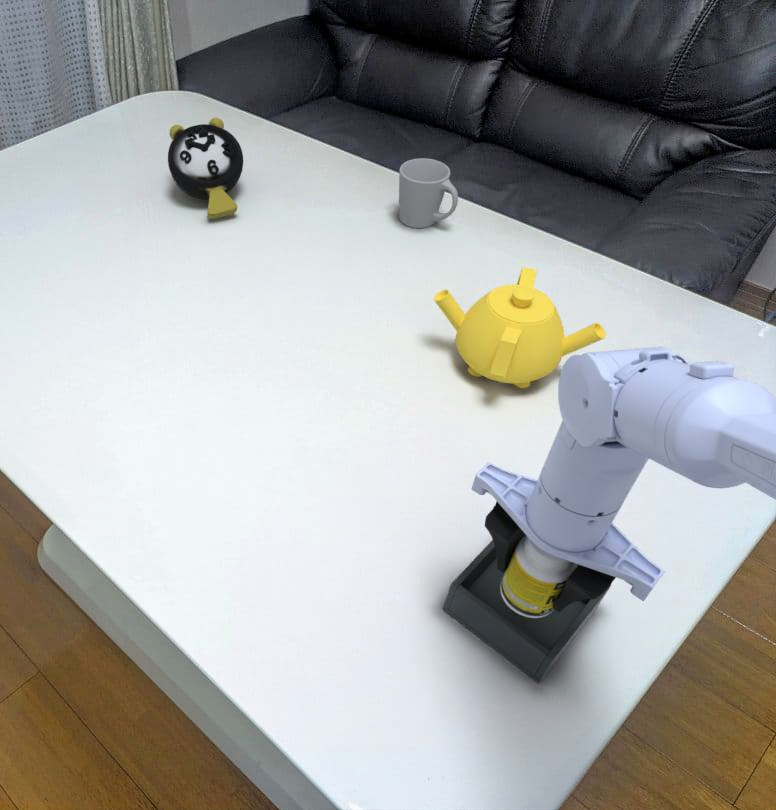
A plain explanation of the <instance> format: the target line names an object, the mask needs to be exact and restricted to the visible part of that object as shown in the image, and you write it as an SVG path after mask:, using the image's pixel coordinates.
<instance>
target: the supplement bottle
mask: <svg viewBox="0 0 776 810" xmlns="http://www.w3.org/2000/svg"><path fill="white" fill-rule="evenodd" d="M576 566H577V564H576V563H573V562H570V561H567V560H565V559H562V558H559V557H556V556H553V555H551V554H549V553H547V552H545V551H543V550H542V549H540V548H539V547H538V546H536V545H535V544H534V543H533V542H532V541H531V540H530V539H529V538H528V536H527V535H526V536H524V537H523V538H522V539H521V540H520V541H519V543H518V545H517V547H516V549H515V552H514V554H513V556H512V558H511V561H510V563H509V565H508V568H507V570H506V572H505V574H504V577H503V579H502V581H501V586H500V590H501V595H502V598H503V600H504V601H505V603H506V604H507V605H508V607H509V608H511V609H512V610H513V611H515V612H516V613H518V614H520V615H522V616H525V617H529V618H541V617H544V616H547V615H548V614H550V613H551V612H552V611H553V610H554V608H552V607H553V605H554V603H555V602H556V600H557V599H558V598H559V597H560V595H561V594H562V593H563V590H564V588H565V586H566V582H567V579H568V577H569V576H570V575H571V574H572V572H573V571H574V570H575V569H576Z"/></svg>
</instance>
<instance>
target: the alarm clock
mask: <svg viewBox="0 0 776 810" xmlns="http://www.w3.org/2000/svg"><path fill="white" fill-rule="evenodd" d="M224 128H225V124H224V121H223V120H222V119H221V118H219V117H212V118H211V119H210V120H209V122H208V124H206V123H205V124H204V123H202V124H195V125H191V126H188V127H187V128H184V127H183V126H182V125H181V124H174V125H172V126H171V127H170V128H169V136H170V139H171V142H170V144H169V147H168V152H167V164H168V170H169V172H170V174H171V177H172V179H173V181H174V182H175V184H176V186H177V187H178V188H179V189H180V190H181V191H182V192H183V193H185V194H186V195H188V196H189V197H192V198H194V199H198V200H204V201H208V206H207V219H210V220H215V219H219V218H223V217H227V216H232V215H234V214H235V213H236V212H237V210H238V204H237V203H236V201H235V200H234V199H232V198H231V196H230V195H229V194H228V193H230V192H231V191H232V190H233V189H234V188H235V187H236V185H237V184H238V182H239V180H240V178H241V176H242V172H243V169H244V155H243V149H242V147H241V145H240V142H239V141H238V140H237V138H236V137H235V136H234V135H233V134H232V133H230V131H228V130H227V129H224Z"/></svg>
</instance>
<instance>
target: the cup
mask: <svg viewBox="0 0 776 810" xmlns="http://www.w3.org/2000/svg"><path fill="white" fill-rule="evenodd" d="M450 176H451V169H450V168H449V166H448V165H447V164H445V163H443V162H442V161H440V160H437V159H433V158H424V157H423V158H421V157H419V158H412V159H409V160H407V161H405V162H404V163H402V164H401V165H400V167H399V174H398V212H399V215H398V216H399V217H398V219H399V220H400V222H401V223H402V224H403V225H405V226H407V227H410V228H414V229H423V228H427V227H430V226H432V225H433V224H435V222H438V221H439V222H440V221H443V220H446V219H447V218H449V217H450V216H451V215H453V213H454V212H455V211H456V209H457V206H458V204H459V203H458V201H459V194H458V190H457V188H456V187H455V186H454V184H453V183H452V182H451V180H450ZM446 191H448V192H449V193H450V195H451V198H452V201H451V202H452V204H451V207H450V209H449V211H447V212H444V213H443V212H440V208H441V206H442V202H443V200H444V197H445V193H446Z"/></svg>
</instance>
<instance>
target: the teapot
mask: <svg viewBox="0 0 776 810" xmlns="http://www.w3.org/2000/svg"><path fill="white" fill-rule="evenodd" d="M537 272H538V269H537V268H531V267H523V266H522V268H521V270H520V274H519V277H518V280H517V284H504V285H500V286H498V287H496V288H494V289H492V290H491V291H489V292H487V293H486V294H485V295H483V296H482V297H480V298H479V299H478V300H477V301H476V302H475V303H474V304H473V305H472V306H471V307H470V308H469V309H468V310H467V311H466V313H465V312H464V311H463V309H462V308H461V306H460V305H459V304H458V302H457V301H456V299H455V298H454V296H453V295H452V293H451V292H450V291H449V289H442V290H441V291H439V292H437V293H436V294H435V295H434V297H433V301H434V302H435V304H436V305H437V306H438V308H439V309H440V310H441V312H442V313H443V314H444V316H445V317H446V319H447V321H449V323H450V324H451V325H452V327H453V328H454V329H455V331H456V333H455V344H456V349H457V352H458V354H459V355H460V357H461V358H462V360H463V361H464V362H465V363H466V364H467V365H468V368H467V373H469V374H470V375H471V376H473V377H477V378H479V377H480V378H481V377H484V378H486V379H489V380H492V381H495V382H499V383H504V384H513V385H514V386H515V387H517V388H520V389H526V388H529V387H530V386H531V382H533V381H536V380H539V379H542V378H544V377H546V376H548V375H550V374H551V373H552V372H553V371H554V370H555V369H556V368H557V367H558V366H559V365H560V363H561V361H562V358H563V357H565V356H567V355H570V354H571V353H573V352H576V351H578V350H581V349H584V348H585V347H588V346H590V345H592V344H595V343H597V342H600V341H601V340H604V339H606V331H605V329H604V327H603V326H602V324H600V323H599V322H594V323H591V324H590V325H588V326H586V327H584V328H582V329H580V330H578V331H575V332H574V333H571V334H569V335H567V336H565V331H564V325H563V322H562V319H561V317H560V315H559V312H558V310H557V308H556V305H555V304H554V302H553V300H552V299H551V298H550V297H549V295H547V294H546V293H545V292H542V291H541V290H539V289H538V288H535V282H536V277H537Z"/></svg>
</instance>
